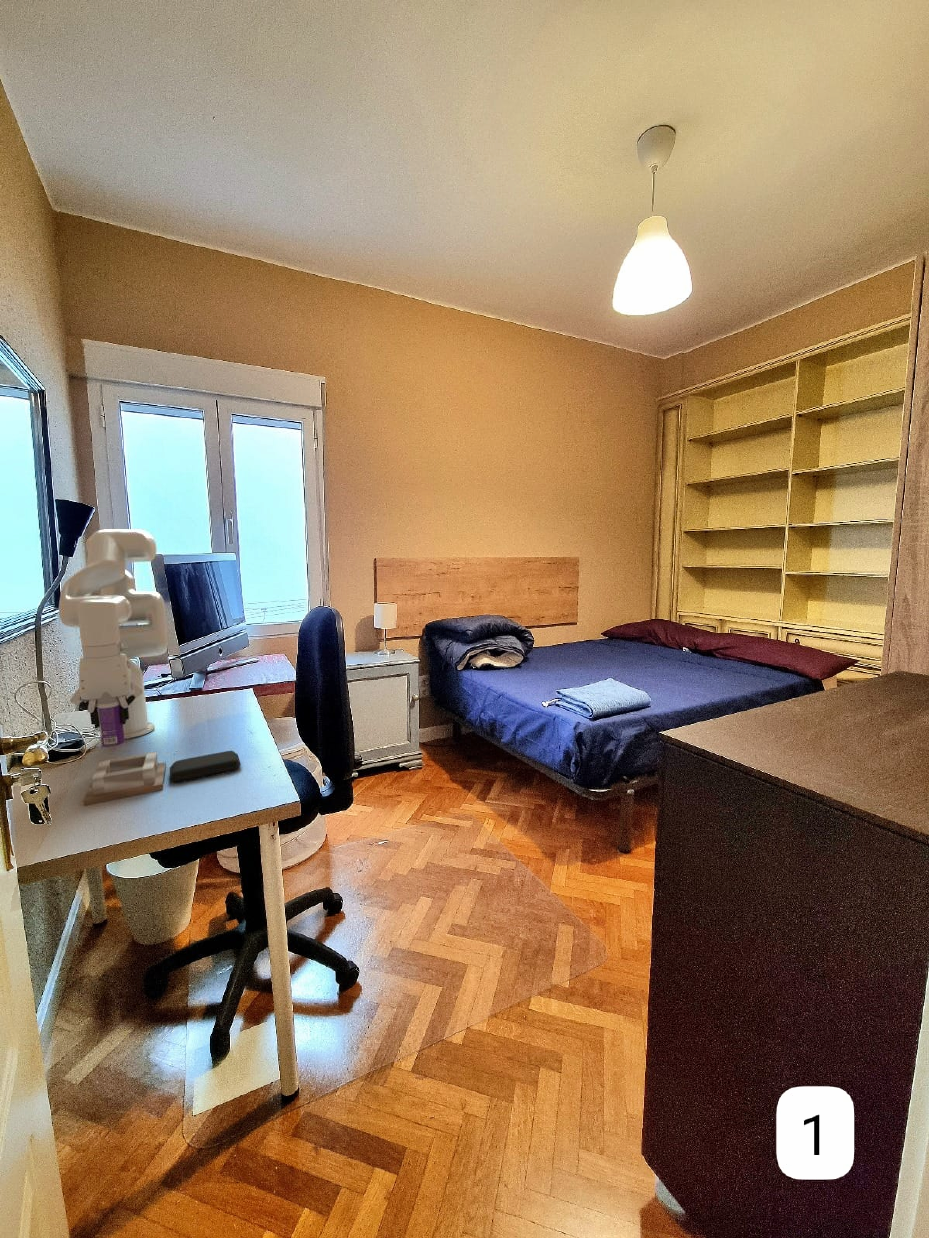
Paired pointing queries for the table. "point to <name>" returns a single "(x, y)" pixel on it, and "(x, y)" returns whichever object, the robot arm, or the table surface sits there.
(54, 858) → the table surface
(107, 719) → the container
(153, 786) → the mount
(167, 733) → the table surface
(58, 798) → the table surface
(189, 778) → the carrying case or bag
